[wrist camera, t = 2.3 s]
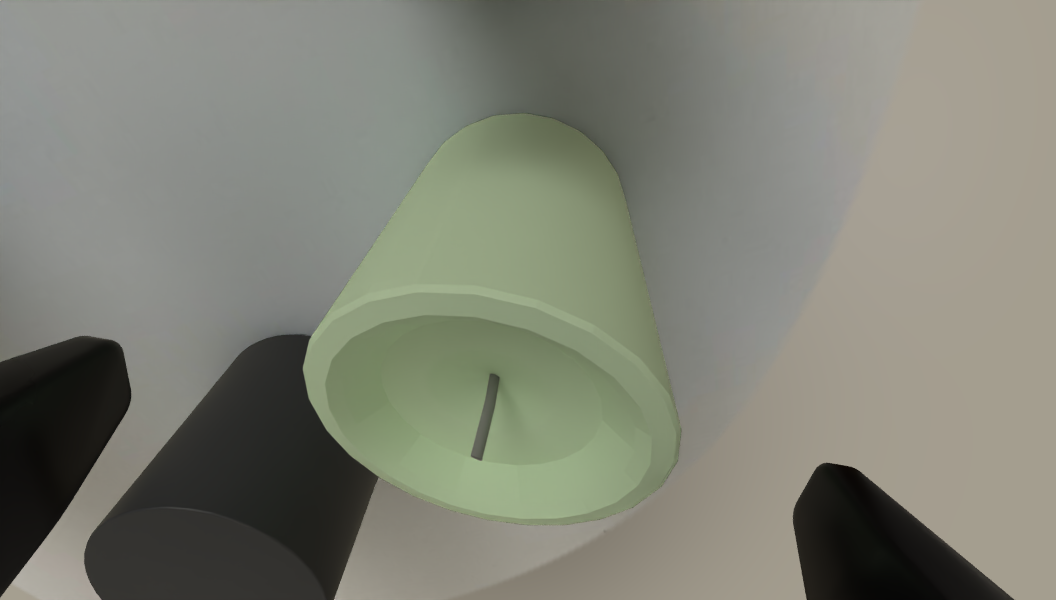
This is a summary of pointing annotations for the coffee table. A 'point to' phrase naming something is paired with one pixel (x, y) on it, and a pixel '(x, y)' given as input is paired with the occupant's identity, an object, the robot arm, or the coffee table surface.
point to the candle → (503, 337)
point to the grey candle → (238, 497)
